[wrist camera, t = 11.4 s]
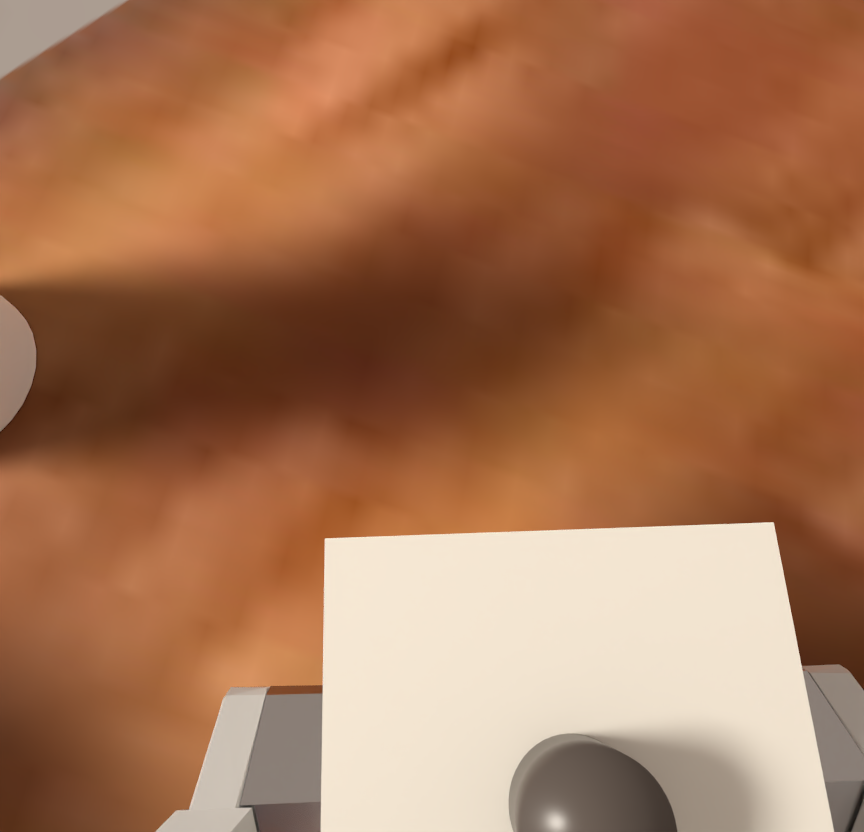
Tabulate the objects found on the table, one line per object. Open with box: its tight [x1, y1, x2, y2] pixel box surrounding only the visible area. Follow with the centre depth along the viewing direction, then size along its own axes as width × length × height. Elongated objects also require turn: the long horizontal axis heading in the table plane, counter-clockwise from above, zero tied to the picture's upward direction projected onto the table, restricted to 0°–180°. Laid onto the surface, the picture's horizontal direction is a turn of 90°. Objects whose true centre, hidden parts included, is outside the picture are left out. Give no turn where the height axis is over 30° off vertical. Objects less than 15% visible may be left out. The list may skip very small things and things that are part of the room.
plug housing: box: [321, 522, 834, 832], centre depth 9 cm, size 5×5×8 cm
